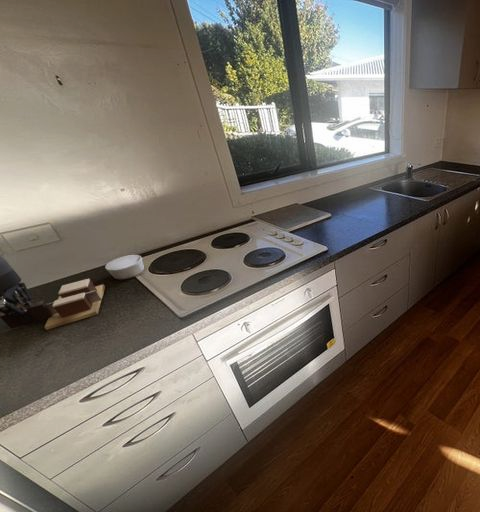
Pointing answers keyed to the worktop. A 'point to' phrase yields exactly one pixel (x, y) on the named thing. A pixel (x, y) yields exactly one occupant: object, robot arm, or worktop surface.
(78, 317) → the board
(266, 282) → the worktop surface
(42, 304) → the knife
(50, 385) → the worktop surface
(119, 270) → the ramekin
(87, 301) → the cake slice
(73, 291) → the cake
